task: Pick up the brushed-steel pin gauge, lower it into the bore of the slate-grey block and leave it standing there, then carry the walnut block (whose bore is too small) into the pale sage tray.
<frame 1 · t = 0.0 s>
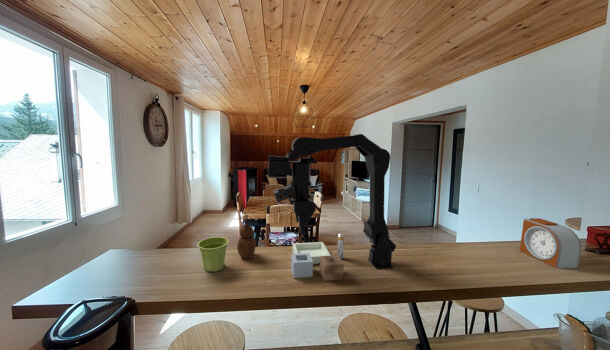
hand: (300, 226, 77), 15 cm above the bar counter, fingers open, 9 cm apart
bored block: (301, 272, 77), on the bar counter
plant pot: (214, 268, 79), on the bar counter
walnut block: (330, 275, 76), on the bar counter
pin gauge: (340, 258, 87), on the bar counter
alarm clock: (545, 258, 90), on the bar counter
tray: (310, 256, 89), on the bar counter
wooden figurine: (247, 256, 88), on the bar counter
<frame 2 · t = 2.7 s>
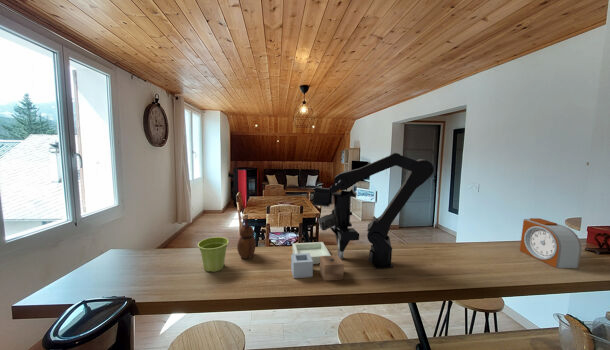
hand: (340, 250, 87), 3 cm above the bar counter, fingers closed on pin gauge, 2 cm apart
pin gauge: (340, 258, 87), on the bar counter, touching gripper
everything else where it was.
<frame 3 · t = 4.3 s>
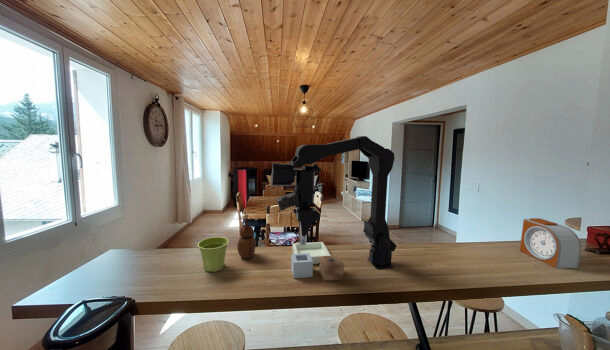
hand: (303, 234, 76), 12 cm above the bar counter, fingers closed on pin gauge, 2 cm apart
pin gauge: (302, 243, 76), point 9 cm above the bar counter, touching gripper
everything else where it was.
when the fingers open (6 cm above the bar counter, at t = 5.9 s): pin gauge drops 3 cm, resting in bored block.
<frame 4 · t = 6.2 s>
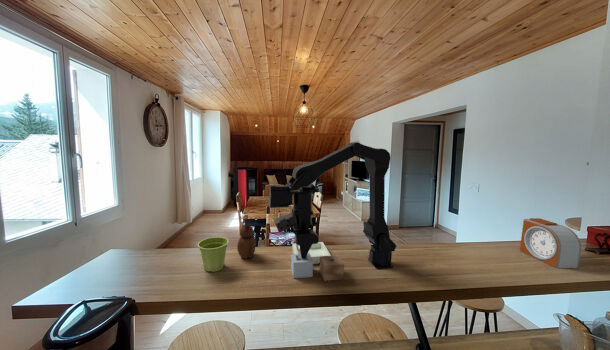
hand: (301, 254, 76), 6 cm above the bar counter, fingers open, 5 cm apart
pin gauge: (301, 272, 77), resting in bored block
everything else where it was.
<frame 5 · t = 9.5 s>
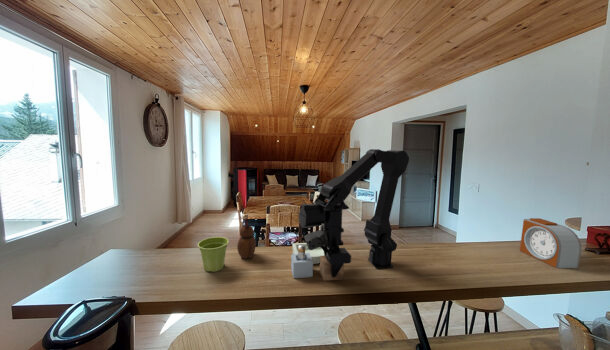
hand: (331, 271, 76), 1 cm above the bar counter, fingers closed on walnut block, 6 cm apart
walnut block: (331, 274, 76), on the bar counter, touching gripper
everything else where it was.
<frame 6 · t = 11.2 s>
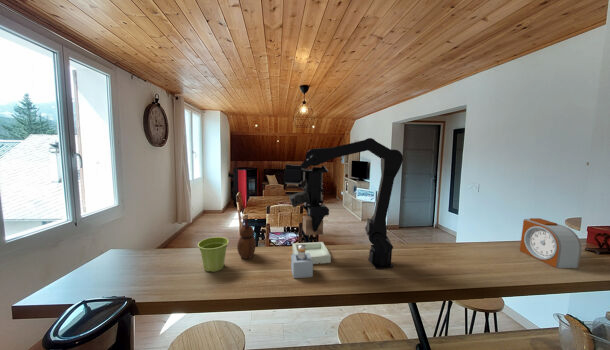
hand: (312, 228, 85), 11 cm above the bar counter, fingers closed on walnut block, 6 cm apart
walnut block: (312, 231, 86), point 10 cm above the bar counter, touching gripper
everything else where it was.
when the fingers open (3 cm above the bar counter, at t = 13.2 s): walnut block drops 2 cm, resting on tray.
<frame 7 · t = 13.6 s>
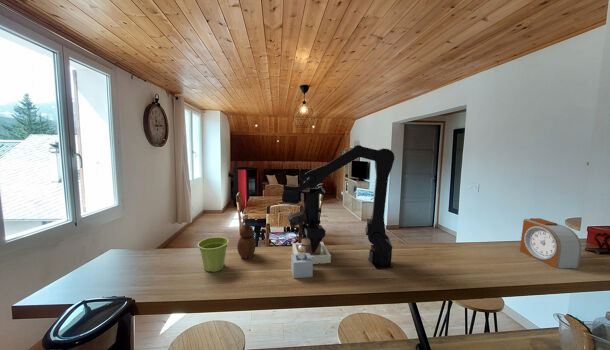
hand: (310, 246, 88), 3 cm above the bar counter, fingers open, 9 cm apart
walnut block: (310, 254, 89), point 1 cm above the bar counter, touching tray
everything else where it was.
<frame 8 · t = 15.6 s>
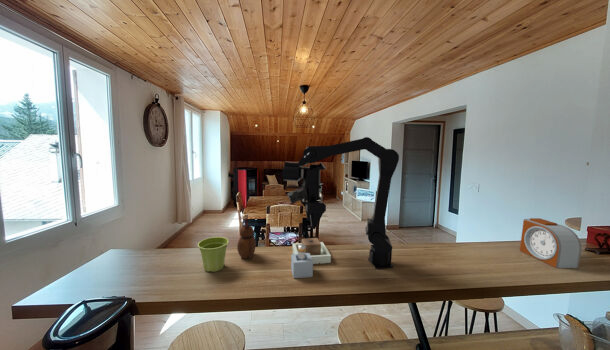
hand: (311, 224, 87), 12 cm above the bar counter, fingers open, 9 cm apart
nothing on the bar counter moved.
at the end: walnut block inside the target area on the tray (0.1 cm from its centre), point 0.6 cm above the tray's base; walnut block tilted 0°; pin gauge 0.0 cm off-centre on the bored block, point 0.0 cm above the bored block's base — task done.
